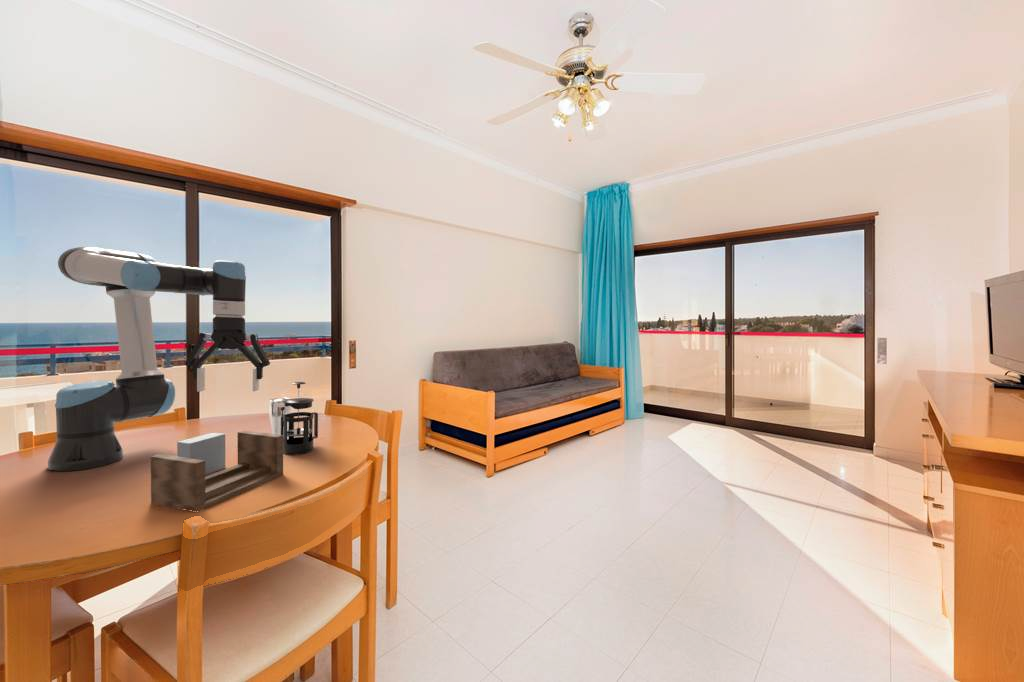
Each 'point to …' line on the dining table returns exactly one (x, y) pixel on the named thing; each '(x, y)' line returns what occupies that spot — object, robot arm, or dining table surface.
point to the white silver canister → (278, 415)
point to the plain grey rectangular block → (205, 450)
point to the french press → (298, 443)
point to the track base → (216, 474)
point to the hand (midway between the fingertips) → (228, 390)
